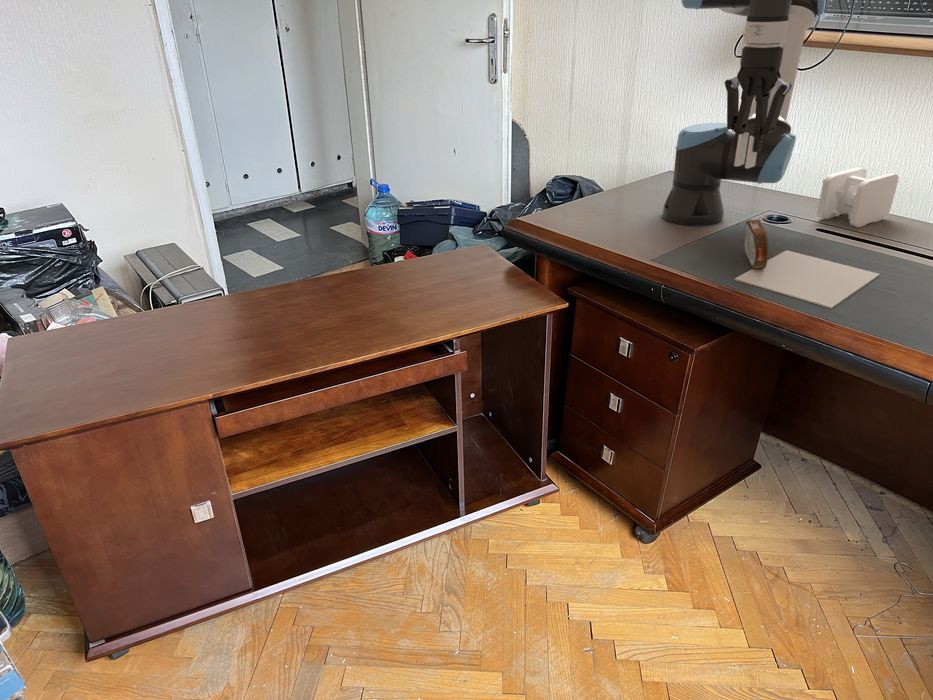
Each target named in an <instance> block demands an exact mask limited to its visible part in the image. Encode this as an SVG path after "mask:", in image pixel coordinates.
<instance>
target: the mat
mask: <svg viewBox="0 0 933 700" xmlns="http://www.w3.org/2000/svg"><path fill="white" fill-rule="evenodd" d="M878 277H880V273H878V272H874V271H870V270H865V269H860V268H859V267H854V266H850V265H845V264H842V263H838V262H836V261H835V262H834V261H830V260H826V259H822V258H819V257H815V256H811V255H807V254H802V253H799V252H795V251H791V250H788V249H787V250H785V251H783V252H780V253H779V254H777V255H775V256H774V257H772V258H769V259H767V265H766V268H752V269H749V270H748V271H746V272H744V273H742V274H740V275H738V276H737V277H735V278H734V281H738V282H742V283H745V284H748V285H751V286H753V287H759V288H761V289H763V290H768V291H771V292H773V293H774V292H775V293H779V294H782V295H784V296H787V297H791V298H795V299H798V300H801V301H805V302H807V303H811V304H815V305H818V306H821V307H824V308H828V309H833V308H835V307H836V306H837V305H839V304H840V303H842V302H844V301H845V300H846V299H847V298H849V297H850V296H852V295H853V294H855V293H856V292H857V291H859V290H860V289H862V288H864V287H865V286H866V285H868V284H869V283H871V282H872V281H874V280H875V279H876V278H878Z"/></svg>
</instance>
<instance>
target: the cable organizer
mask: <svg viewBox="0 0 933 700" xmlns="http://www.w3.org/2000/svg"><path fill="white" fill-rule="evenodd" d="M867 173H868V172H867V169H866V168H863V167H853V168H849V169H845V170H842V171H837V172H835V173H830V174H829V175H827V176H826V177H825V178H824V179H822V186H821V191H820V192H821V193H820V197H819V200H818V205H817V210H816V216H817V217H819V218H822V219H824V220H829V218H830V219H832V218H835V217H837V218H840V217H839V216H840V215H846V214H847V215H848V217H847V220H848V221H849V224H850V225H851V226H853V227H855V228H857V229H858V227H859V228H861V227H864V226H866V225H867V224H871V223H876V222H880V221H882V220H884V219H885V218H886V217H887V216H889V214H890V212H891V210H892V205H893V202H894V199H895V198H894V197H895V195H896V194H895V193H896V190H897V186H898V183H899V180H900V179H899V178H900V177H899V175H898V174H897V173H891V172H890V173H886V174H883V175H879V176H876V177H872V178H867Z"/></svg>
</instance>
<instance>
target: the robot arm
mask: <svg viewBox="0 0 933 700" xmlns="http://www.w3.org/2000/svg"><path fill="white" fill-rule="evenodd" d="M681 5H682V6H683V8H685V9H689V10H690V9H691V10H692V9H695V10H702V9H703V10H709V9H710V10H712V9H719V10H720V11H722V12H724V13H726V14H731V15H732V14H733V15H737V16H740V17H746V21H745V29H744V35H743V43H744V44H745V45H744V46H743V47H742V48H741V55H740V56H741V57H740V64H739V65H740V69H739V71H738V72H737V74H736V76H734V77H732V78H729V79H726V80H725V81H724V85H725V90H726V93H727V94H726V97H727V98H726V101H727V102H726V123H725V122H705V123H699V124H694V125H690V126H685V127H684V128H682V129H681V130H680V131H679V133H678V135H677V136H678V137H677V141H676V142H677V143H676V146H675V159H674V167H673V178H672V186H671V189H670V191H669V193H668V195H667V198H666V200H665V203H664V205H663V208H662V218H664V219H665V220H666V221H668V222H670V223H674V224H678V225H683V226H691V227H693V226H695V227H697V226H710V225H715V224H718V223H720V222H721V221H723V218H724V212H725V210H724V209H725V208H724V204H723V203H724V202H723V199H722V193H721V181H722V180H723V181H732V182H733V181H735V182H745V183H746V182H748V183H756V184H776V183H779V182H780V181H781V180H782V179H783V177H784V176H785V173H786V171H787V169H788V166H789V163H790V161H791V158H792V153H793V152H794V148H795V146H796V144H795V143H796V140H797V136H796V135H795V134H794V133H792V127H791V125H790V124H789V122H788V121H787V118H788V114H789V110H790V104H791V102H792V101H791V100H792V95H793V91H794V87H795V82H796V77H797V72H798V68H799V65H800V64H799V62H800V57H801V54H802V50H803V46H804V40H805V35H806V32H807V30H808V29H810V28H811V27H812V26H813V25H814V23H815V21H816V18H817V17H816V15H817V16H820V15H822V14H824V10H825V9H824V8H825V0H681ZM822 16H823V15H822ZM820 17H821V16H820ZM739 86H740V87H741V89H742V91H741V96H740V89H739ZM740 100H741V101H740ZM739 103H740V105H739Z"/></svg>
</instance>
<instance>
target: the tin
mask: <svg viewBox="0 0 933 700" xmlns="http://www.w3.org/2000/svg"><path fill="white" fill-rule="evenodd" d="M744 228H745V235H744V236H745V237H744V241H743V242H744V243H743V244H744V252H745V256H746V259H747V261H748V263H749V265H750V267H751V268H752V269H753V268H766V265H767V261H768V260H769V259H768V257H769V243H768V242H769V241H768V234H767V231H766V229H765V227H764V225H763V223H762V222H761V220H760V219H759V218H758V219H750V220H747V221H746V222H745V225H744Z"/></svg>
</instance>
